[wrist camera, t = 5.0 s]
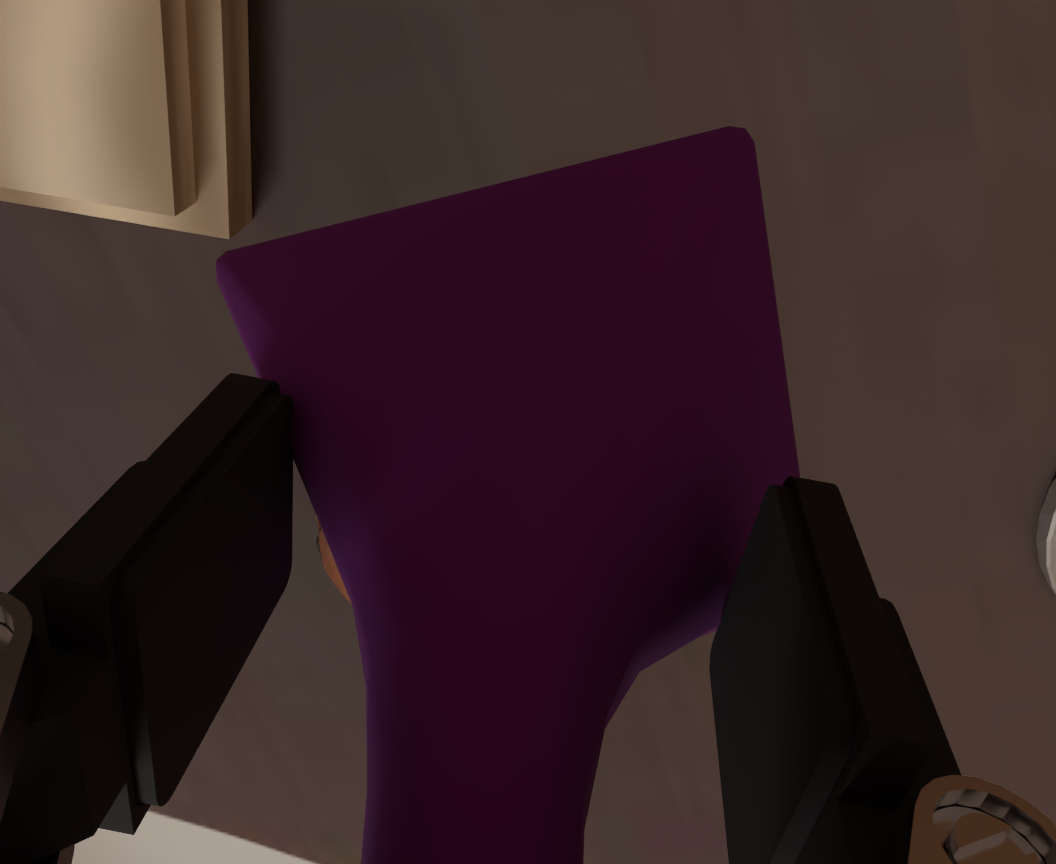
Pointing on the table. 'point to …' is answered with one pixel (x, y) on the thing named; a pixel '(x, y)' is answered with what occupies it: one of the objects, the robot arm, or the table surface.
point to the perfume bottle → (526, 464)
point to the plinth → (128, 111)
